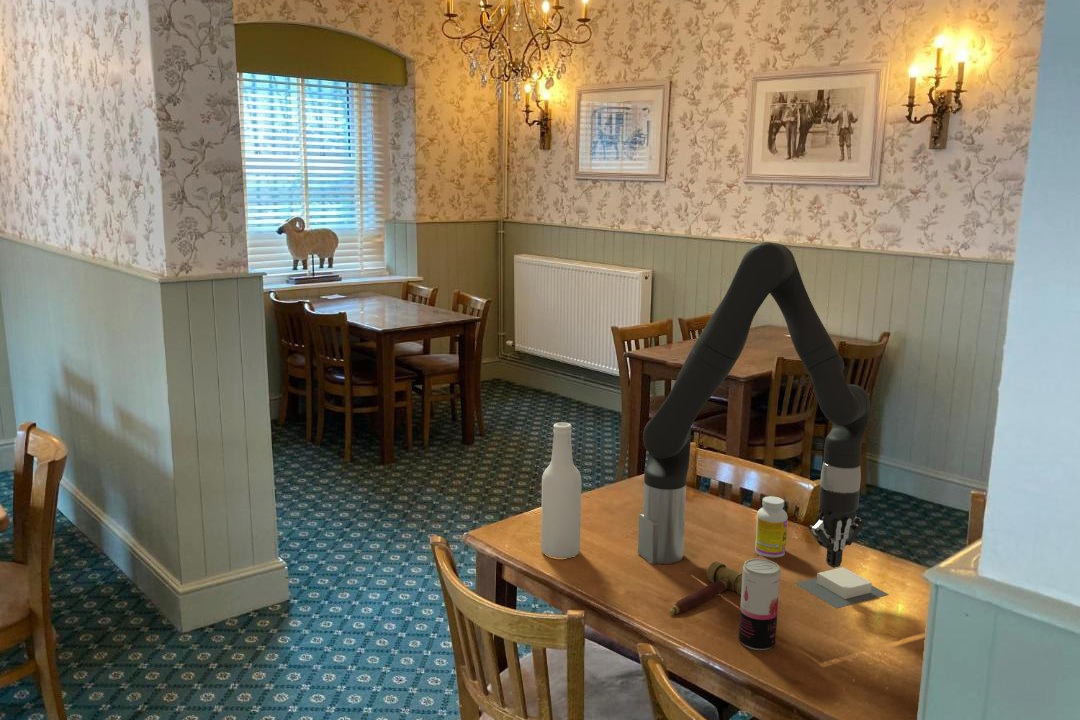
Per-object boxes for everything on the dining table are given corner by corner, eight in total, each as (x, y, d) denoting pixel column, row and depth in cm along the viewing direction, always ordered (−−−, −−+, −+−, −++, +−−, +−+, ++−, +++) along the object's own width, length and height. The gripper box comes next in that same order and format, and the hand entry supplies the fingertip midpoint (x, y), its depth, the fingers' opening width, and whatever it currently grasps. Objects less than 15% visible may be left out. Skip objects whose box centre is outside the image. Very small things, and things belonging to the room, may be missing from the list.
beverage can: (781, 649, 160) (787, 572, 157) (747, 653, 159) (752, 575, 156) (765, 631, 166) (770, 556, 163) (732, 634, 165) (737, 559, 162)
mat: (836, 610, 174) (836, 608, 174) (794, 585, 185) (794, 583, 185) (888, 597, 180) (888, 594, 180) (845, 573, 191) (845, 571, 191)
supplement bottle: (785, 561, 197) (789, 506, 194) (755, 558, 198) (758, 504, 196) (783, 549, 203) (787, 495, 201) (754, 546, 205) (757, 493, 202)
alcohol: (587, 551, 201) (590, 424, 195) (563, 564, 194) (565, 432, 188) (557, 541, 206) (559, 416, 200) (533, 553, 200) (534, 424, 193)
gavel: (690, 611, 167) (651, 592, 175) (690, 633, 169) (651, 613, 176) (758, 574, 180) (720, 558, 188) (758, 594, 181) (720, 577, 189)
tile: (845, 589, 177) (871, 582, 180) (817, 573, 184) (842, 567, 187) (844, 599, 178) (870, 593, 181) (816, 583, 185) (842, 577, 188)
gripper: (851, 474, 183) (844, 553, 186) (801, 483, 177) (795, 564, 181) (879, 486, 176) (871, 567, 179) (827, 495, 170) (821, 579, 174)
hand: (833, 565), depth 180 cm, fingers closed
